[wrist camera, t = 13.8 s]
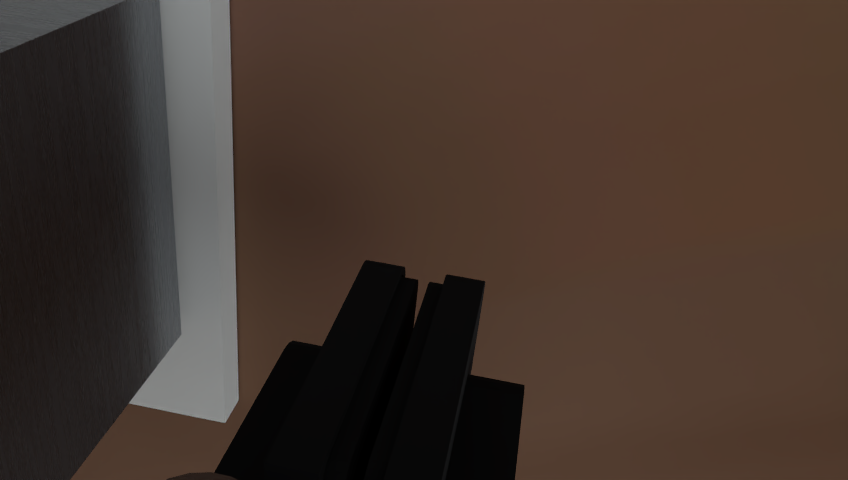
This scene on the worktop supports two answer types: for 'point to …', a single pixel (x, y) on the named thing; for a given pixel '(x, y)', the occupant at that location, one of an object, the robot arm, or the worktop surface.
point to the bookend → (80, 225)
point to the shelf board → (200, 214)
